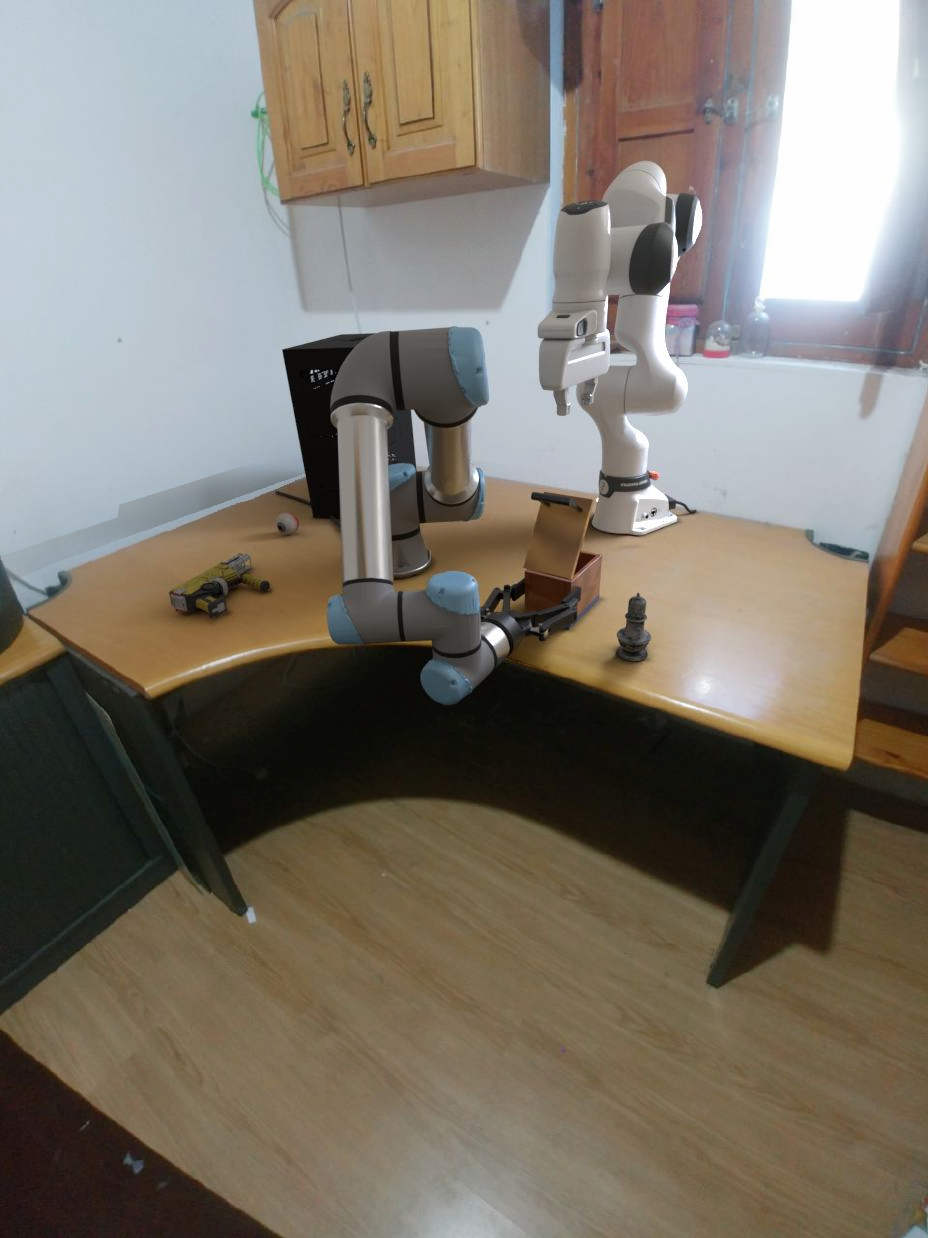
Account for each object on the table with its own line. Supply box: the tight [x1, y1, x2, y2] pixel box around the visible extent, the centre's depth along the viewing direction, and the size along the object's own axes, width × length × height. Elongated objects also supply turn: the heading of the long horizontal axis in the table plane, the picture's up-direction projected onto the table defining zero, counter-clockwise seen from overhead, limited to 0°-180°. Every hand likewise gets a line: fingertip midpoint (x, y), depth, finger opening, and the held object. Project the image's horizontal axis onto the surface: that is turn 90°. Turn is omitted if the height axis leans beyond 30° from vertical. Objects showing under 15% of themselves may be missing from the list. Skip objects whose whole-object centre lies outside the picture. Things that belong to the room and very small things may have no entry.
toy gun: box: [168, 552, 271, 619], centre depth 134 cm, size 5×24×15 cm
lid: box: [522, 491, 595, 580], centre depth 109 cm, size 15×10×8 cm
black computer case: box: [281, 332, 418, 519], centre depth 178 cm, size 38×20×45 cm, turn 167°
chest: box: [523, 549, 603, 630], centre depth 120 cm, size 14×10×10 cm
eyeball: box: [275, 511, 300, 536], centre depth 163 cm, size 6×6×6 cm
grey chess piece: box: [616, 592, 652, 662], centre depth 103 cm, size 6×6×12 cm
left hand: (553, 587), depth 116 cm, fingers closed on chest, 10 cm apart
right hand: (575, 409), depth 105 cm, fingers open, 8 cm apart
